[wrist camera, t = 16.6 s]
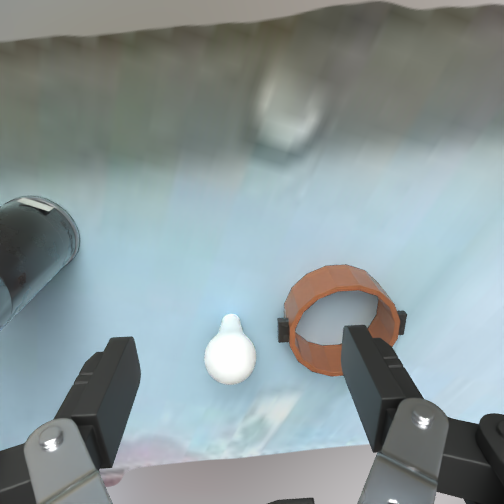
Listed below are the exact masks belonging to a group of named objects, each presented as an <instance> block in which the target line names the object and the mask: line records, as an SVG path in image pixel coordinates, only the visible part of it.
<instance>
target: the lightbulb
mask: <svg viewBox="0 0 504 504" xmlns="http://www.w3.org/2000/svg"><path fill="white" fill-rule="evenodd" d="M204 360H205V366H206V368H207V371H208V373H209V374H210V375H211V376H212V377H213V378H214V379H215V380H216V381H218V382H220V383H222V384H227V385H233V384H237V383H240V382H242V381H244V380H245V379H246V378H248V377H249V376H250V374H251V373H252V371H253V369H254V367H255V363H256V351H255V348H254V345H253V343H252V342H251V340H250V339H249V338H248V337H247V336H246V335H244V333H243V329H242V326H241V323H240V319H239V317H238V316H237V315H235V314H227V315H225V316H224V317H223V319H222V323H221V326H220V328H219V333H218V334H217V335H216V336H215V337H214V338H213V339H212V340H211V341H210V342H209V344H208V346H207V348H206V350H205V357H204Z"/></svg>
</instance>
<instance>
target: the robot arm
mask: <svg viewBox="0 0 504 504" xmlns="http://www.w3.org/2000/svg"><path fill="white" fill-rule="evenodd" d="M79 243H80V239H79V232H78V229H77V227H76V224H75V223H74V221H73V219H72V218H71V217H70V215H69V214H68V213H67V212H66V211H65V210H64V209H63V208H61V207H60V206H59V205H57V204H55V203H54V202H52V201H50V200H47V199H44V198H41V197H36V196H23V197H19V198H15V199H13V200H11V201H9V202H7V203H5V204H4V205H3V206H1V207H0V331H1V330H2V329H3V328H4V327H5V326H6V325H7V324H8V323H9V322H10V320H11V319H12V318H13V317H14V316H15V315H16V314H17V313H18V312H19V311H20V310H21V309H22V308H23V307H24V306H25V305H26V304H27V303H28V302H29V301H30V300H31V299H32V298H33V297H34V296H35V295H36V294H37V293H38V292H39V291H40V290H41V289H42V288H43V287H44V286H45V285H46V284H47V283H48V282H49V281H50V280H51V279H52V278H53V277H54V276H55V275H56V274H57V273H58V272H59V271H60V270H61V269H62V268H63V267H64V266H66V265H67V264H68V263H69V262H70V261H71V260H72V259H73V258H74V257H75V255H76V253H77V251H78V248H79ZM341 367H342V372H343V375H344V378H345V380H346V383H347V386H348V388H349V391H350V393H351V396H352V399H353V401H354V404H355V407H356V409H357V412H358V414H359V417H360V420H361V422H362V425H363V427H364V430H365V433H366V435H367V438H368V440H369V443H370V446H371V448H372V451H373V452H378V453H377V455H376V458H375V460H374V463H373V465H372V468H371V470H370V473H369V475H368V478H367V480H366V483H365V486H364V488H363V491H362V494H361V496H360V498H359V501H358V504H434V501H435V496H436V492H440V493H444V494H447V495H451V496H455V497H459V498H463V499H464V501H465V502H466V504H504V415H502V414H495V413H493V414H487V415H485V416H483V417H482V418H481V420H480V423H479V424H475V423H470V422H465V421H461V420H456V419H452V418H449V417H447V416H446V414H445V413H444V412H443V411H442V410H441V409H440V408H439V407H438V406H437V405H435V404H434V403H432V402H430V401H428V400H425V399H424V398H423V397H422V395H421V394H420V392H419V390H418V389H417V387H416V385H415V384H414V382H413V381H412V379H411V377H410V376H409V374H408V372H407V371H406V369H405V368H404V367H403V364H402V363H401V361H400V360H399V359H398V356H397V355H396V353H395V351H394V350H393V348H392V347H391V346H390V345H389V344H388V343H387V342H385V341H384V340H383V339H382V338H372V336H371V334H370V332H369V330H368V329H367V327H366V326H365V325H351V326H344V329H343V339H342V350H341ZM140 377H141V370H140V364H139V360H138V355H137V350H136V345H135V341H134V338H133V337H113V338H111V339H110V340H109V342H108V344H107V346H106V348H105V350H104V352H96V353H95V354H94V355H93V356H92V357H91V358H90V359H88V360H87V361H86V362H85V364H84V366H83V367H82V369H81V371H80V373H79V376H77V378H76V380H75V382H74V385H72V387H71V389H70V391H69V392H68V394H67V396H66V398H65V400H64V401H63V403H62V405H61V407H60V409H59V410H58V412H57V414H56V416H55V417H54V419H53V420H51V421H49V422H47V423H45V424H43V425H41V426H40V427H39V428H37V429H36V430H35V431H34V432H33V433H32V434H31V435H30V436H29V437H28V439H27V441H26V442H25V443H23V444H21V445H18V446H15V447H12V448H8V449H5V450H2V451H0V504H113V503H112V501H111V499H110V496H109V494H108V492H107V489H106V487H105V485H104V483H103V480H102V478H101V476H100V474H99V469H102V468H112V466H113V463H114V460H115V457H116V454H117V451H118V448H119V445H120V442H121V439H122V436H123V433H124V430H125V427H126V424H127V421H128V418H129V415H130V412H131V409H132V406H133V403H134V400H135V396H136V393H137V390H138V387H139V384H140ZM268 504H314V499H313V498H301V499H286V500H277V501H274V502H271V503H268Z"/></svg>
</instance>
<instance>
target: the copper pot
mask: <svg viewBox="0 0 504 504" xmlns="http://www.w3.org/2000/svg"><path fill="white" fill-rule="evenodd" d="M354 290H360V291H363V292H366V293H369V294H372V295H376V296H377V297H378V306H377V314H376V316H375V318H374V319H373V321H372V323H371V324H370V326H369V328H368V330H369V332H370V334H371V336H372V338H382V339H383V340H384V341H385V342H387V343H388V344H389V345H390V346H391V347H393V345H394V344H395V342H396V340H397V339H398V335H403V334H404V329H405V323H406V317H407V314H406V312H405V311H397V310H396V307H395V304H394V303H393V302H392V300H391V299H390V298H389V296H388V295H387V294H386V292H385V291H384V290H383V289H382V287H381V286H380V285H379V283H378V282H377V281H376V280H375V279H374V278H373V277H371V276H370V275H369V274H368V273H367V272H366V271H365V270H362V269H359V268H356V267H352V266H349V265H330V266H324V267H322V268H320V269H317V270H315V271H313V272H310V273H308V274H306V275H305V276H304V277H303V278H302V279H301V280H300V281H298V282H297V283H296V284H295V285H294V286H293V287H292V288H291V290H290V293H289V295H288V297H287V299H286V301H285V303H284V318H278V342H279V343H280V342H289V345H290V347H291V349H292V351H293V353H294V355H295V357H296V359H297V360H298V362H300V363H301V364H302V365H304V366H305V367H307V368H308V369H309V370H311V371H312V372H316V373H320V374H324V375H328V376H344V375H343V372H342V367H341V350H342V344H339V345H326V346H322V345H318V344H315V343H311V342H308V341H306V340H305V339H304V338H302V337H301V336H300V335H298V334H297V333H296V332H295V328H296V326H297V324H298V322H299V320H300V318H301V316H302V314H303V312H305V311H306V310H307V309H308V308H309V307H310V306H311V305H312V304H314V303H315V302H316V301H317V300H318V299H320V298H323V297H325V296H328V295H330V294H333V293H335V292H337V291H354Z"/></svg>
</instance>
